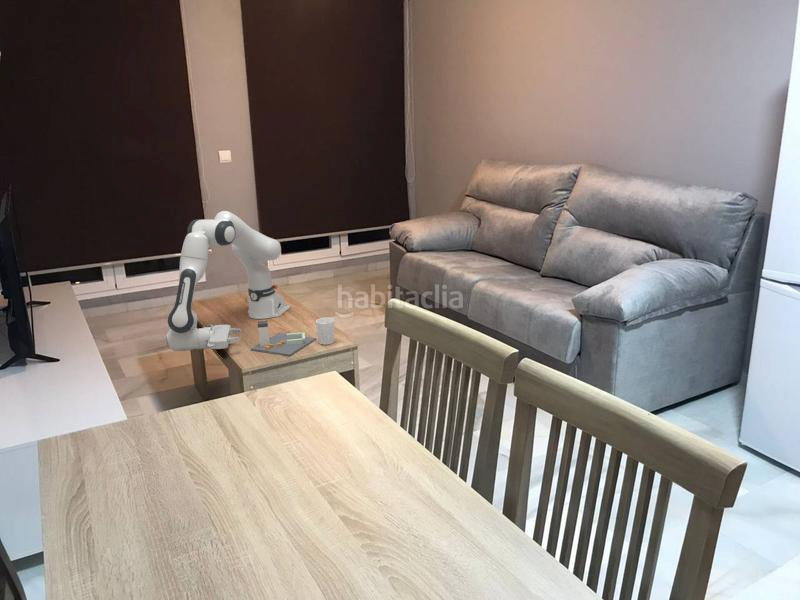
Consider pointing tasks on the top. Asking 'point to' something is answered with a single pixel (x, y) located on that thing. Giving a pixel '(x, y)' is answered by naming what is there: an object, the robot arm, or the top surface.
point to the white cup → (325, 330)
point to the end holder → (296, 341)
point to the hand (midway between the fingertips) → (240, 334)
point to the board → (282, 345)
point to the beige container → (263, 333)
